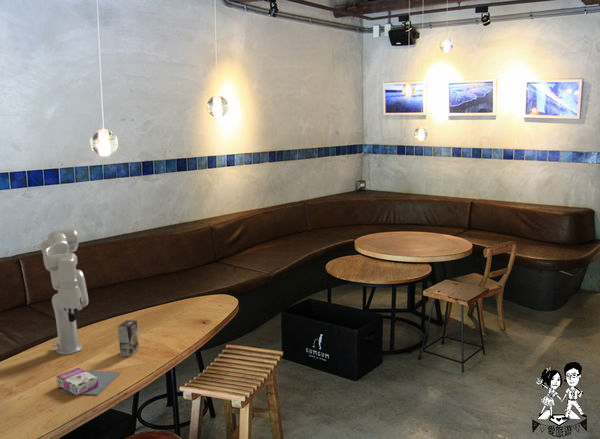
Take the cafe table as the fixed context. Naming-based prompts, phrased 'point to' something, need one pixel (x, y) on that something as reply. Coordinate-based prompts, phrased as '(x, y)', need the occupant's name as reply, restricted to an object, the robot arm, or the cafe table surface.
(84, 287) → the robot arm
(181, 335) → the cafe table surface
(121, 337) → the coffee box
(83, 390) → the candy bar box
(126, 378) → the cafe table surface
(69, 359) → the cafe table surface
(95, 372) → the mat
